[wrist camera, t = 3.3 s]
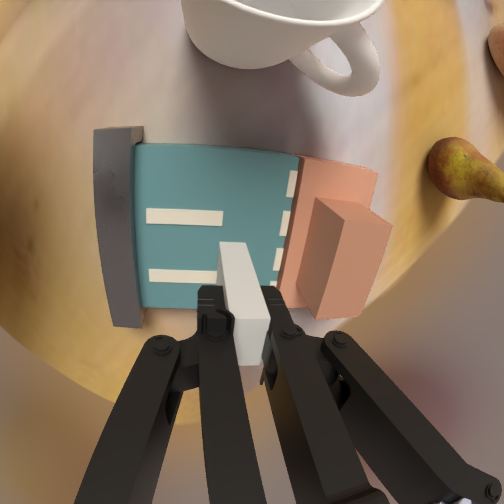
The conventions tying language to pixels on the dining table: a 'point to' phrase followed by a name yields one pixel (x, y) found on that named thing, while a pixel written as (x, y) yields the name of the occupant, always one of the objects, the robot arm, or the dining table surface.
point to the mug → (287, 36)
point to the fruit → (464, 171)
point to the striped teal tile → (207, 215)
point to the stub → (331, 239)
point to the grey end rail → (118, 221)
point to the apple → (497, 46)
